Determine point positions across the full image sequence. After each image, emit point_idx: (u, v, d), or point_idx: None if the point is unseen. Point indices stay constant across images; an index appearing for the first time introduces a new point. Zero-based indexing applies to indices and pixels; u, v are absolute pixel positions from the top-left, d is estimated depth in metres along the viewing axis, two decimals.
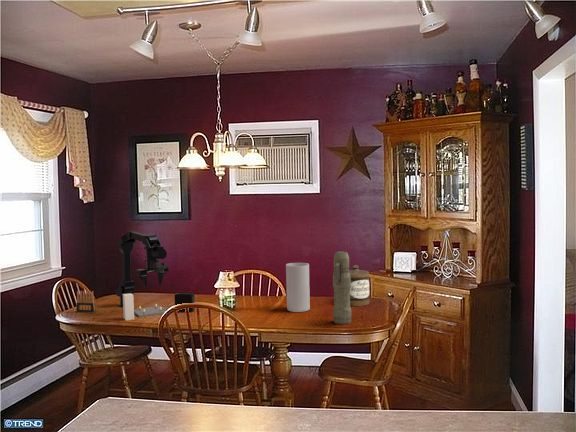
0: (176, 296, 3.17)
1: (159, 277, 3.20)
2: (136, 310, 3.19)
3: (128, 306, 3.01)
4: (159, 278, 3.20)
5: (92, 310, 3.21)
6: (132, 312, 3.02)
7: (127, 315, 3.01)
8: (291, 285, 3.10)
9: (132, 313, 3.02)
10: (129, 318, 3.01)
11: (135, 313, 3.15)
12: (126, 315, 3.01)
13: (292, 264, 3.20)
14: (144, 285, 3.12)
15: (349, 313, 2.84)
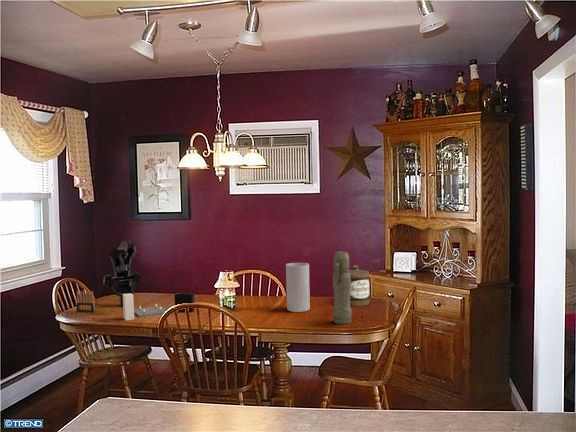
0: (176, 296, 3.17)
1: (132, 284, 3.14)
2: (136, 310, 3.19)
3: (128, 306, 3.01)
4: (132, 285, 3.14)
5: (92, 310, 3.21)
6: (132, 312, 3.02)
7: (127, 315, 3.01)
8: (291, 285, 3.10)
9: (132, 313, 3.02)
10: (129, 318, 3.01)
11: (135, 313, 3.15)
12: (126, 315, 3.01)
13: (292, 264, 3.20)
14: (114, 291, 3.08)
15: (349, 313, 2.84)
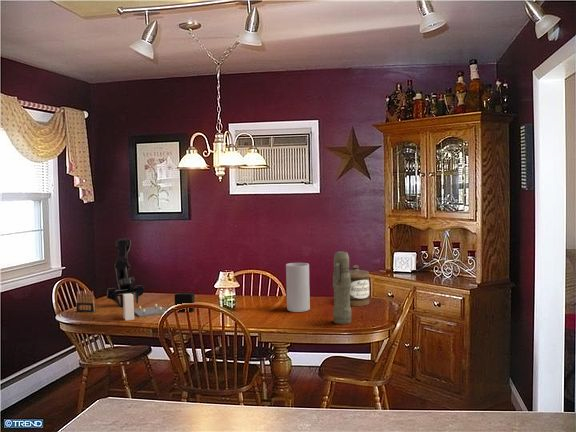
0: (176, 296, 3.17)
1: (135, 297, 3.08)
2: (136, 310, 3.19)
3: (128, 306, 3.01)
4: (136, 298, 3.07)
5: (92, 310, 3.21)
6: (132, 312, 3.02)
7: (127, 315, 3.01)
8: (291, 285, 3.10)
9: (132, 313, 3.02)
10: (129, 318, 3.01)
11: (135, 313, 3.15)
12: (126, 315, 3.01)
13: (292, 264, 3.20)
14: (117, 304, 3.01)
15: (349, 313, 2.84)
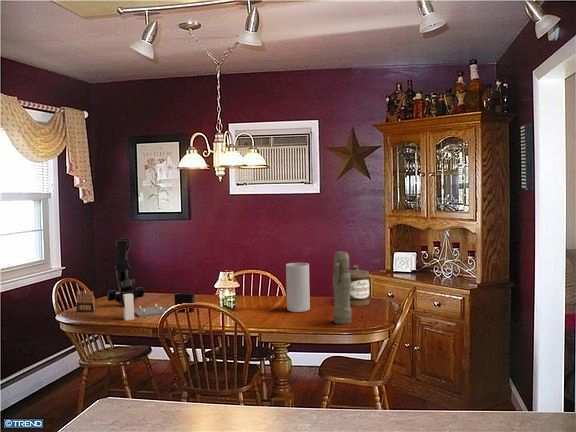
0: (176, 296, 3.17)
1: None
2: (136, 310, 3.19)
3: (128, 306, 3.01)
4: None
5: (92, 310, 3.21)
6: (132, 312, 3.02)
7: (127, 315, 3.01)
8: (291, 285, 3.10)
9: (132, 313, 3.02)
10: (129, 318, 3.01)
11: (135, 313, 3.15)
12: (126, 315, 3.01)
13: (292, 264, 3.20)
14: (122, 306, 3.01)
15: (349, 313, 2.84)
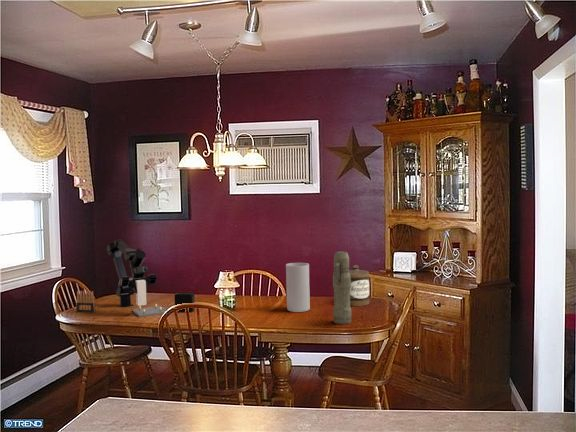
0: (176, 296, 3.17)
1: None
2: (136, 310, 3.19)
3: (141, 292, 3.10)
4: None
5: (92, 310, 3.21)
6: (144, 298, 3.11)
7: (139, 300, 3.10)
8: (291, 285, 3.10)
9: (144, 299, 3.11)
10: (141, 303, 3.10)
11: (135, 313, 3.15)
12: (138, 300, 3.09)
13: (292, 264, 3.20)
14: (135, 292, 3.10)
15: (349, 313, 2.84)
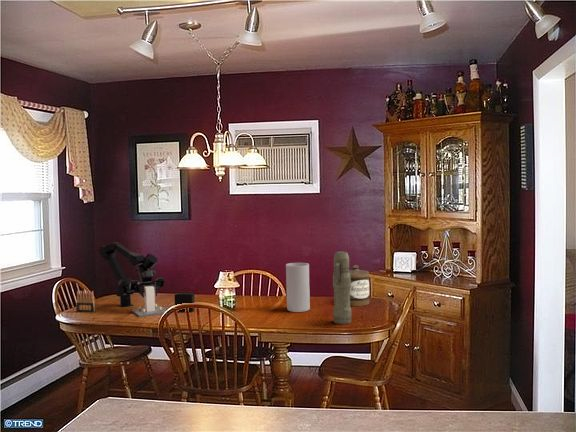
0: (176, 296, 3.17)
1: (155, 289, 3.21)
2: (136, 310, 3.19)
3: (149, 298, 3.15)
4: (155, 290, 3.20)
5: (92, 310, 3.21)
6: (153, 304, 3.16)
7: (148, 306, 3.15)
8: (291, 285, 3.10)
9: (153, 305, 3.16)
10: (150, 309, 3.16)
11: (135, 313, 3.15)
12: (147, 306, 3.15)
13: (292, 264, 3.20)
14: (142, 295, 3.15)
15: (349, 313, 2.84)
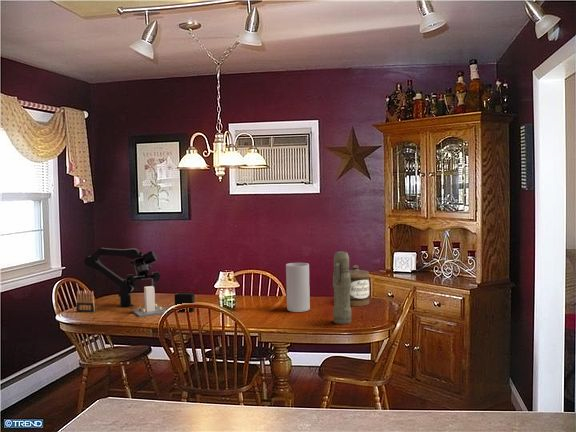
0: (176, 296, 3.17)
1: (152, 283, 3.29)
2: (136, 310, 3.19)
3: (149, 298, 3.15)
4: (152, 284, 3.28)
5: (92, 310, 3.21)
6: (153, 304, 3.16)
7: (148, 306, 3.15)
8: (291, 285, 3.10)
9: (153, 305, 3.16)
10: (150, 309, 3.16)
11: (135, 313, 3.15)
12: (147, 306, 3.15)
13: (292, 264, 3.20)
14: (136, 289, 3.23)
15: (349, 313, 2.84)
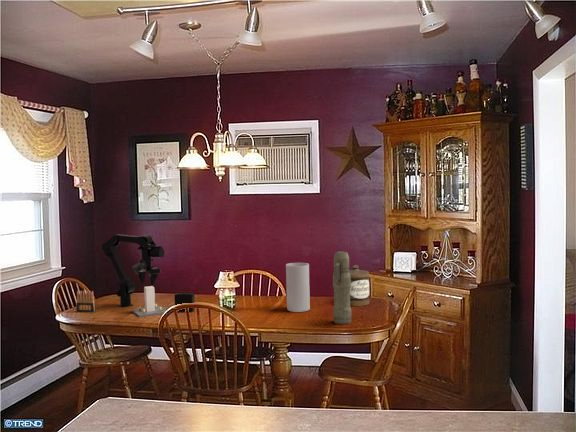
0: (176, 296, 3.17)
1: None
2: (136, 310, 3.19)
3: (149, 298, 3.15)
4: None
5: (92, 310, 3.21)
6: (153, 304, 3.16)
7: (148, 306, 3.15)
8: (291, 285, 3.10)
9: (153, 305, 3.16)
10: (150, 309, 3.16)
11: (135, 313, 3.15)
12: (147, 306, 3.15)
13: (292, 264, 3.20)
14: None
15: (349, 313, 2.84)
